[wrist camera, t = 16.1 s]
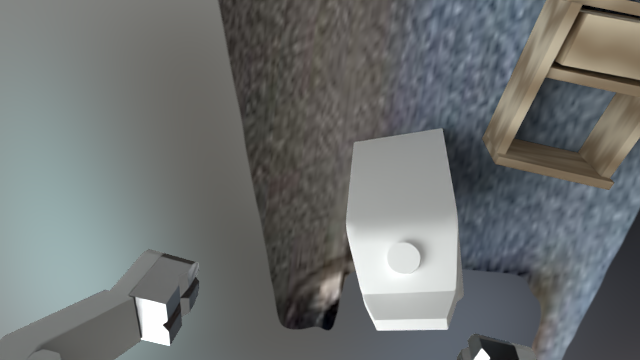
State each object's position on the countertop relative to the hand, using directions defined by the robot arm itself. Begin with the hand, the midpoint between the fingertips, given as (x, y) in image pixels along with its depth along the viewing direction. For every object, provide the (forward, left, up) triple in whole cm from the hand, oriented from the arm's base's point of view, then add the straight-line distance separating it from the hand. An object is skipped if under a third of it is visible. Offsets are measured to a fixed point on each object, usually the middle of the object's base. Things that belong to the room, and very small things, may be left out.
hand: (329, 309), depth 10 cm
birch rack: (-1, +23, -39) cm, 45 cm away
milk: (+16, +8, -39) cm, 43 cm away
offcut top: (-6, +23, -36) cm, 43 cm away
